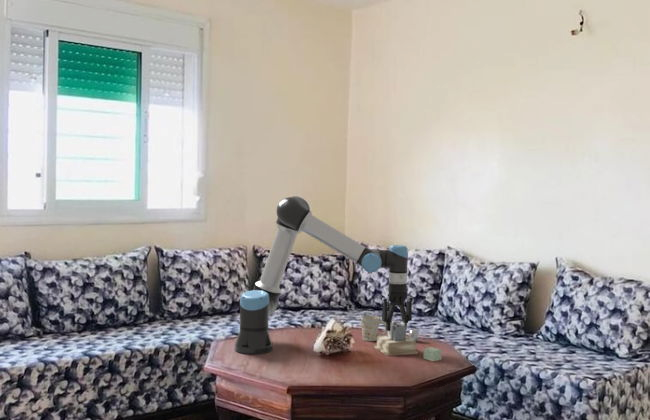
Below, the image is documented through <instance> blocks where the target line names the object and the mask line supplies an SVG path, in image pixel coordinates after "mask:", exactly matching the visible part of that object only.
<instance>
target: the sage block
mask: <svg viewBox="0 0 650 420" xmlns="http://www.w3.org/2000/svg"><path fill="white" fill-rule="evenodd" d="M423 359H424V360H427V361H431V362H437V361H441V360H442V349H439V348H435V347H427V348H423Z"/></svg>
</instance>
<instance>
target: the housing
mask: <svg viewBox="0 0 650 420" xmlns="http://www.w3.org/2000/svg"><path fill="white" fill-rule="evenodd" d="M391 323H392V324H393V326H392V339H391V340H393V341H406V337H407V329H406V326H405V325H403V324H401V322H398V321H397V320H391ZM386 336H387V337H388V331H387V332H386Z"/></svg>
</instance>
